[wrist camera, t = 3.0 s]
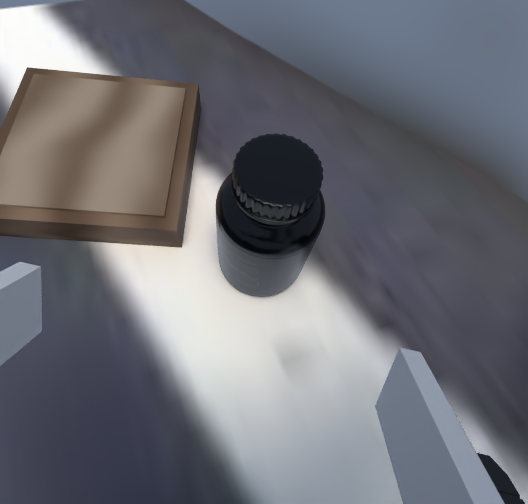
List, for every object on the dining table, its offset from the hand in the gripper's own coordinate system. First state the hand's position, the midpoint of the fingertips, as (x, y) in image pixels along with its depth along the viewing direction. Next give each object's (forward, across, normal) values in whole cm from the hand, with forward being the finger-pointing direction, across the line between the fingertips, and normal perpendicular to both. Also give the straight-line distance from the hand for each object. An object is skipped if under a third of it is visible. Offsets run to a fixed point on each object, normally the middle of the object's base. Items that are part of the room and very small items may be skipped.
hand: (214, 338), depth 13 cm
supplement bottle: (+16, +1, -3) cm, 17 cm away
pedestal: (+20, -14, +1) cm, 25 cm away
